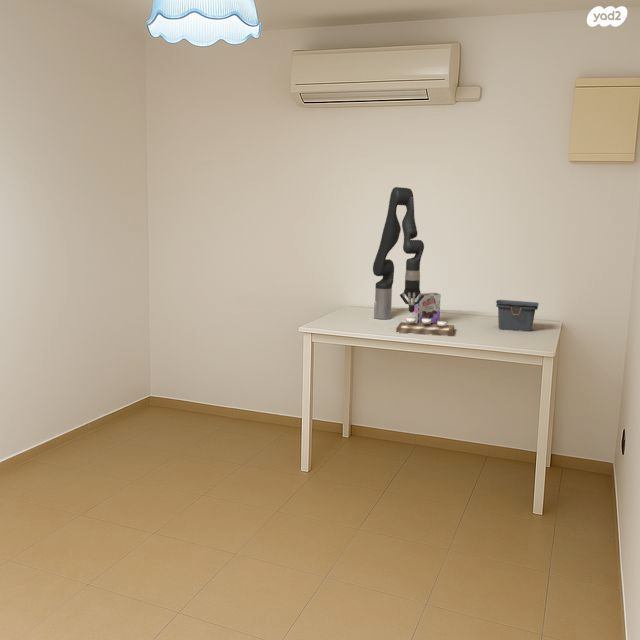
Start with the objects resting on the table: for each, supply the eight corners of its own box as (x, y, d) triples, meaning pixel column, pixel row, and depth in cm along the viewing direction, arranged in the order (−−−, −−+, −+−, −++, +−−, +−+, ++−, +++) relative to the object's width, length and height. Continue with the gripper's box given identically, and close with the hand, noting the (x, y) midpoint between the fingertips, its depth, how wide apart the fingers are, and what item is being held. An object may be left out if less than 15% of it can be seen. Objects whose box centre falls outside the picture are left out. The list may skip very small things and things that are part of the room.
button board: (396, 332, 340) (396, 327, 340) (400, 326, 356) (400, 321, 355) (452, 336, 334) (452, 330, 333) (454, 330, 349) (454, 324, 348)
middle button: (421, 323, 345) (421, 319, 345) (422, 321, 350) (422, 318, 349) (430, 323, 344) (430, 320, 344) (431, 322, 348) (431, 318, 348)
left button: (405, 322, 347) (405, 318, 347) (406, 320, 352) (406, 317, 351) (415, 323, 346) (415, 319, 345) (416, 321, 350) (416, 317, 350)
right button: (436, 326, 343) (437, 322, 343) (437, 324, 348) (437, 320, 348) (446, 326, 342) (446, 322, 342) (447, 325, 347) (447, 321, 346)
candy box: (417, 325, 362) (418, 294, 359) (412, 323, 367) (413, 293, 364) (439, 323, 367) (440, 293, 364) (434, 321, 372) (435, 292, 369)
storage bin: (536, 328, 356) (538, 301, 353) (536, 333, 341) (538, 306, 339) (495, 325, 362) (497, 299, 360) (493, 330, 348) (495, 303, 345)
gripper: (426, 278, 347) (425, 311, 350) (400, 277, 350) (399, 310, 353) (424, 280, 339) (423, 314, 343) (398, 279, 343) (397, 312, 346)
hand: (411, 312), depth 348 cm, fingers closed
